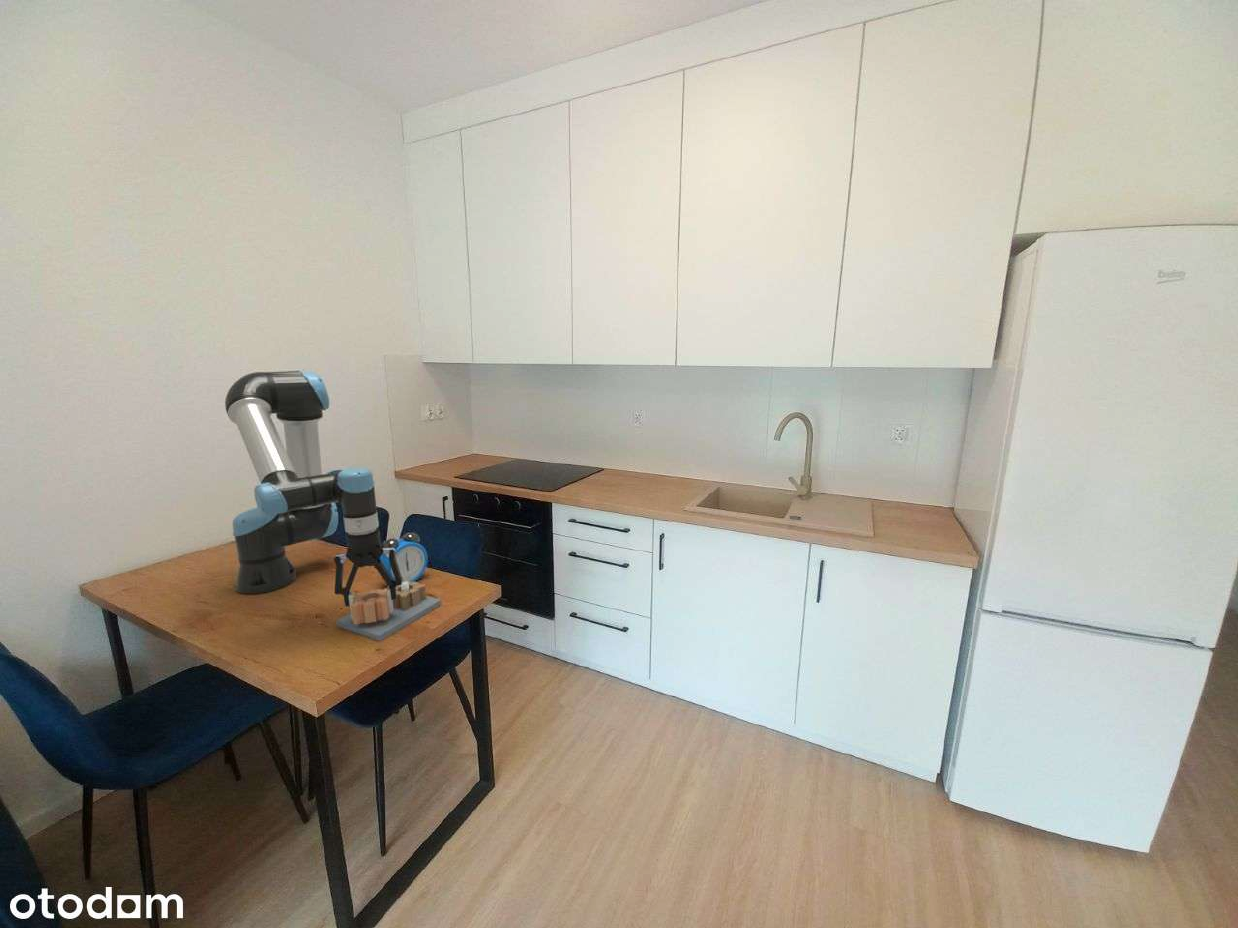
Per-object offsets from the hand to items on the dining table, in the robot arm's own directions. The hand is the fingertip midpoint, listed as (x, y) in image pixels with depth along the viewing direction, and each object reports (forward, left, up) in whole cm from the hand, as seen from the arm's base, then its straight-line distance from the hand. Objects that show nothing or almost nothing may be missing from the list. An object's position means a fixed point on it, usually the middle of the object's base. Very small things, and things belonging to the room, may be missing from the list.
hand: (373, 613), depth 127 cm
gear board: (0, +5, -3) cm, 6 cm away
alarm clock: (-13, +21, -3) cm, 25 cm away
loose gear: (0, 0, 0) cm, 0 cm away
